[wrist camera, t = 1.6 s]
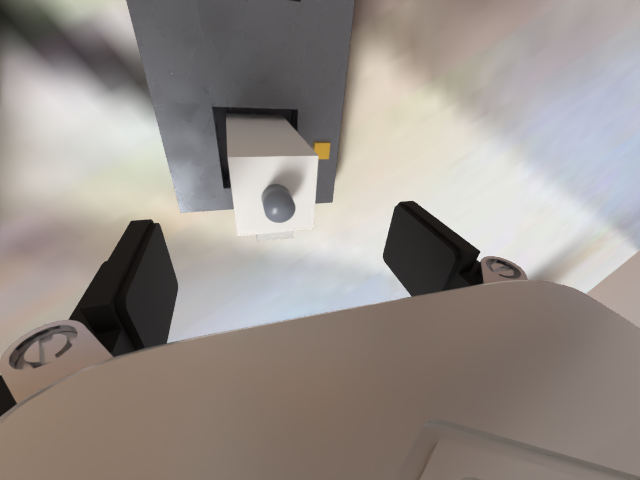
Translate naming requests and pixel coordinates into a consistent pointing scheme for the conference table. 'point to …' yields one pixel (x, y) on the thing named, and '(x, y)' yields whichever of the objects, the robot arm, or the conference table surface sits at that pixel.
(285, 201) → the plug
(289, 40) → the panel
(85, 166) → the conference table surface
